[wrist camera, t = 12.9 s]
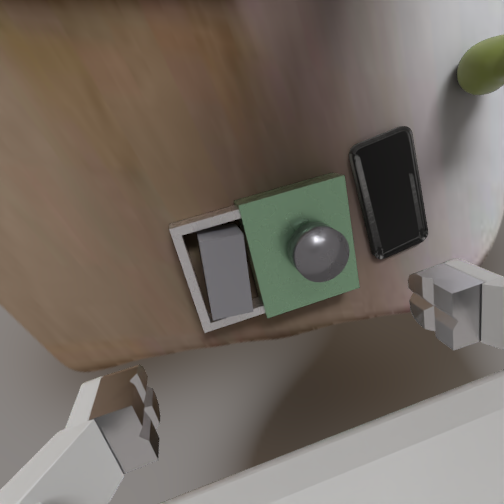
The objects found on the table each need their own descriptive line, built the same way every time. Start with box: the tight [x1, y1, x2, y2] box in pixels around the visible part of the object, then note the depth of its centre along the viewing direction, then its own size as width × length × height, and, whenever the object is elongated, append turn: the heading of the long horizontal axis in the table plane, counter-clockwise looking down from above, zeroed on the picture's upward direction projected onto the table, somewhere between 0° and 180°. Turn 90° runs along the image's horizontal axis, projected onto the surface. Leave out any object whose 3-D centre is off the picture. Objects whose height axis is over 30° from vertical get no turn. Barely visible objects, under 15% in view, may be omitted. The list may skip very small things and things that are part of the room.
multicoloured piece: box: [169, 173, 360, 333], centre depth 38 cm, size 14×20×6 cm
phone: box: [349, 126, 428, 259], centre depth 42 cm, size 8×1×15 cm
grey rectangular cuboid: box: [196, 223, 253, 320], centre depth 38 cm, size 9×4×5 cm, turn 8°
